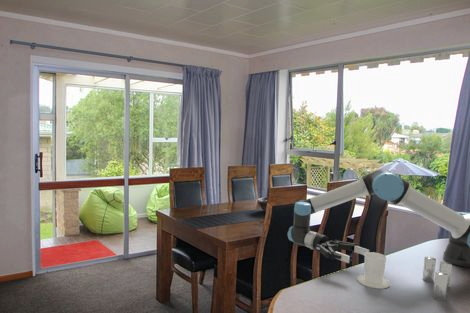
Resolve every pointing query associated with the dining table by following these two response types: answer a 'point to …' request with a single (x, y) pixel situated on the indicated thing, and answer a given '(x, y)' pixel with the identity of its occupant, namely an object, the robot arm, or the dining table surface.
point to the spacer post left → (429, 269)
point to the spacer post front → (440, 286)
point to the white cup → (374, 267)
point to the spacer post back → (446, 270)
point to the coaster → (378, 286)
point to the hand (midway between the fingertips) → (359, 256)
